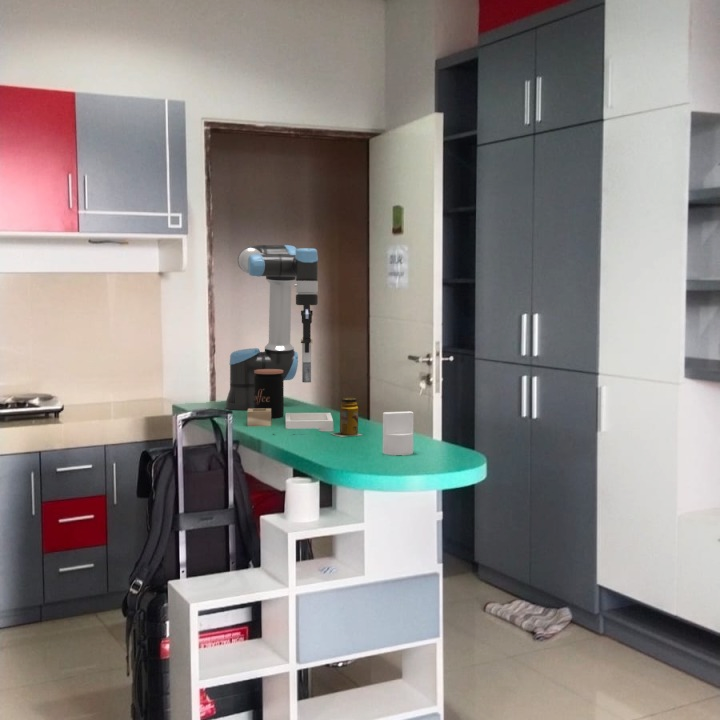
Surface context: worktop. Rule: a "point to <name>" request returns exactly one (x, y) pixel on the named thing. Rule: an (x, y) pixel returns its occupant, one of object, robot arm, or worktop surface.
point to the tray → (309, 421)
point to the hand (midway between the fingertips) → (306, 361)
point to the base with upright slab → (398, 433)
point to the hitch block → (259, 417)
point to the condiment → (348, 418)
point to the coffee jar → (269, 391)
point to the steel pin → (306, 368)
